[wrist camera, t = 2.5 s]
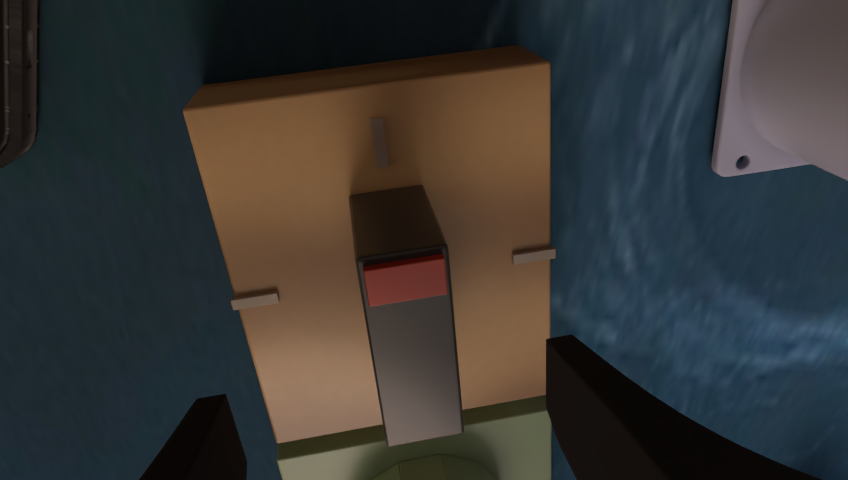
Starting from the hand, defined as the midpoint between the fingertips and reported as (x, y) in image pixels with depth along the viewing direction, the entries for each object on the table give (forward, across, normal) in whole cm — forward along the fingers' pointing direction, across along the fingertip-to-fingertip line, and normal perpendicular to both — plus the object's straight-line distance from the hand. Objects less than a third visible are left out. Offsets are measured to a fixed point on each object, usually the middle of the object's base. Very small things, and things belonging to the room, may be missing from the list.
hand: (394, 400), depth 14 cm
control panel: (+9, -1, 0) cm, 9 cm away
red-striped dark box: (+6, -1, 0) cm, 6 cm away
